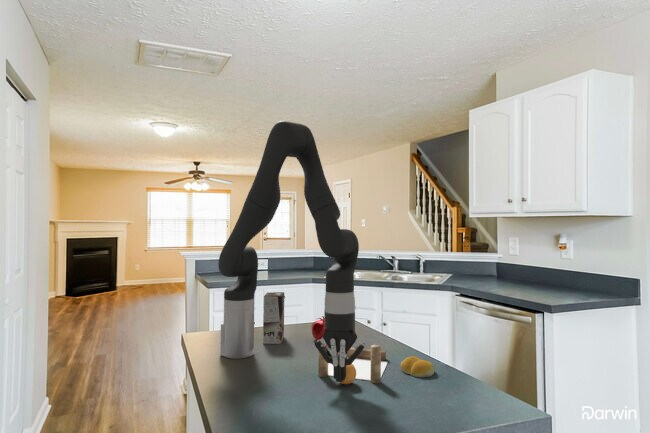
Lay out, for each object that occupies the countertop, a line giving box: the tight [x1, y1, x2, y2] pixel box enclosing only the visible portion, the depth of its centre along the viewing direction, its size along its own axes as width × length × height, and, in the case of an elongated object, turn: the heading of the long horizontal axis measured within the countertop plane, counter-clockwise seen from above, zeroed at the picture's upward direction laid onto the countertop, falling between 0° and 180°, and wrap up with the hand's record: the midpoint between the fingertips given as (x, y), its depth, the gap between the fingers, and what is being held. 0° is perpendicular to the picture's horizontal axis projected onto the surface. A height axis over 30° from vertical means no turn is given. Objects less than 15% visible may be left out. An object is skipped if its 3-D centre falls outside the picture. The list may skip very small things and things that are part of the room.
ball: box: [339, 364, 356, 385], centre depth 106 cm, size 6×6×6 cm
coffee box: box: [262, 291, 285, 345], centre depth 145 cm, size 9×6×16 cm
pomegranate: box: [310, 315, 325, 342], centre depth 146 cm, size 10×10×9 cm
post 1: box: [317, 342, 329, 378], centre depth 112 cm, size 3×3×9 cm
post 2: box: [370, 344, 382, 384], centre depth 108 cm, size 3×3×9 cm
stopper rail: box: [347, 346, 387, 362], centre depth 127 cm, size 14×2×2 cm, turn 74°
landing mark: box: [327, 357, 388, 382], centre depth 117 cm, size 16×16×1 cm
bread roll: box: [400, 355, 435, 378], centre depth 115 cm, size 8×9×4 cm
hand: (339, 380), depth 103 cm, fingers closed
